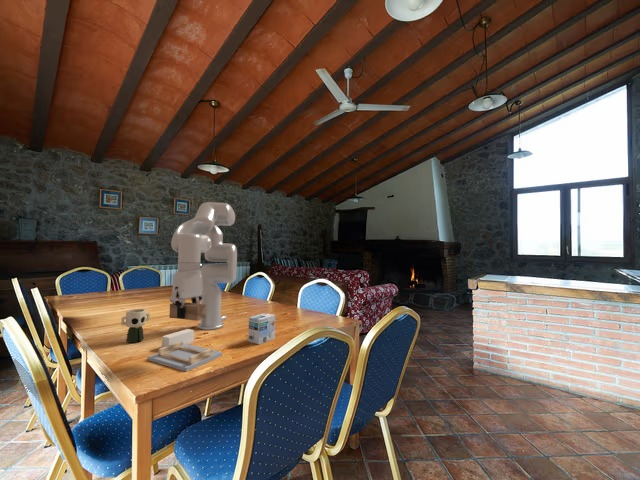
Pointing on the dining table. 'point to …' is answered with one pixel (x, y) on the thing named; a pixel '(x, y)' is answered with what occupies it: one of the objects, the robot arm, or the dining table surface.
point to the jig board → (183, 355)
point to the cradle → (177, 346)
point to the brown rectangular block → (190, 311)
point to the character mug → (135, 324)
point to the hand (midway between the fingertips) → (187, 316)
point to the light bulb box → (261, 328)
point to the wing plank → (178, 337)
